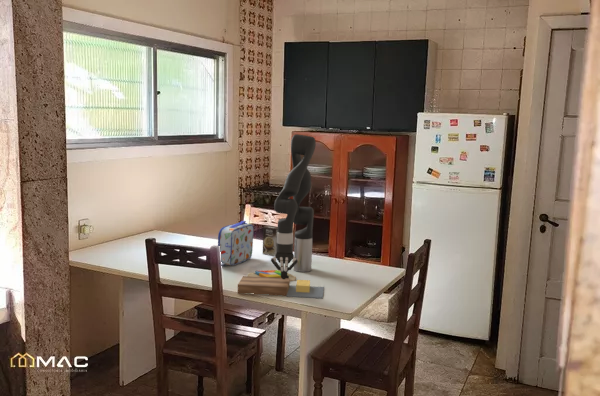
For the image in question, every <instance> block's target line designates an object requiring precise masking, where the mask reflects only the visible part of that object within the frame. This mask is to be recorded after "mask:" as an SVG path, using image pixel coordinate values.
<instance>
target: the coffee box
mask: <svg viewBox="0 0 600 396" xmlns="http://www.w3.org/2000/svg"><path fill="white" fill-rule="evenodd" d="M262 232H263V233H262V254H263V255H268V256H272V257H275V255H276V249H277V241H276V240H277V232H278V226H275V225H265V226H263V229H262Z"/></svg>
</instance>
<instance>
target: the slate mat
mask: <svg viewBox="0 0 600 396" xmlns="http://www.w3.org/2000/svg"><path fill="white" fill-rule="evenodd" d="M324 288H325V286H315V285H314V286H313V285H310V291H309V292H296V285H293V284H292V285H291V284H290V286H289V289H288V293H287V296H285V297H287V298H302V299H303V298H305V299H307V298H308V299H324Z"/></svg>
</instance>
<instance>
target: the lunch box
mask: <svg viewBox="0 0 600 396" xmlns="http://www.w3.org/2000/svg"><path fill="white" fill-rule="evenodd" d="M254 230H255V229H254V225H253V224H251V223H248V222H247V221H246V220H241V221H239V222H236V223H233V224H228V225H225V226H223V227H221V228H220V229H219V231H218V236H217V247H218V246H220V252H221V262H222V265H227V266H236V265H239V264H241V263H244V262H245V261H247V260H250V259H251V258H252V256H253V247H254V245H253V244H254Z"/></svg>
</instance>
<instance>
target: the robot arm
mask: <svg viewBox="0 0 600 396" xmlns="http://www.w3.org/2000/svg"><path fill="white" fill-rule="evenodd" d="M316 142H317V141H316V138H315V137H314V136H311V135H303V134H294V135H292V137H291V141H290V153H291V162H292V163H291V164H292V169H291V170H290V171H288V172H289V173H288V174H287V175H286V178H285V181H284V183H283V184H284V185H283V188H282V190H281V191H280V192H279V194H278V195H277V197H276V199H275V200H274V204H273V206H274V211H275V212H276V213H277V214H283V215H286V217H285V218H279V219H278V221H277V227H278V232H277V240H276V241H277V249H276V255H275V256H272V258H270V262H272V264H273V266H274V268H276V270H280V271H281V278H282V279H286V278H287V273H288V271H292V269H293V270H294V271H295V272H300V273H307V272H308V273H309V272H311V271H312V266H313V265H312V264H313V263H312V260H313V259H312V258H313V229H314V228H313V227H314V218H315V217H314V215H315V212H314V211H315V210H314V208H313V207H311V206H300V205H301V203H302V201H303V200H304V199H305V198H306V197H307V195H308V194H309V193H310V191H311V188H312V176H311V172H310V171H309V169H308V167H309V164H310V162H311V159H312V158H313V155H314V152H315V149H316ZM302 156H303V157H302ZM291 197H292V198H291ZM294 225H301V226H302V225H304V226H305V225H306V226H305V227H304V228H302V229H299V230H296V231H295V232H294ZM277 261H278V262H277ZM291 262H292V263H291ZM290 263H291V264H290ZM289 264H290V265H289Z"/></svg>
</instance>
